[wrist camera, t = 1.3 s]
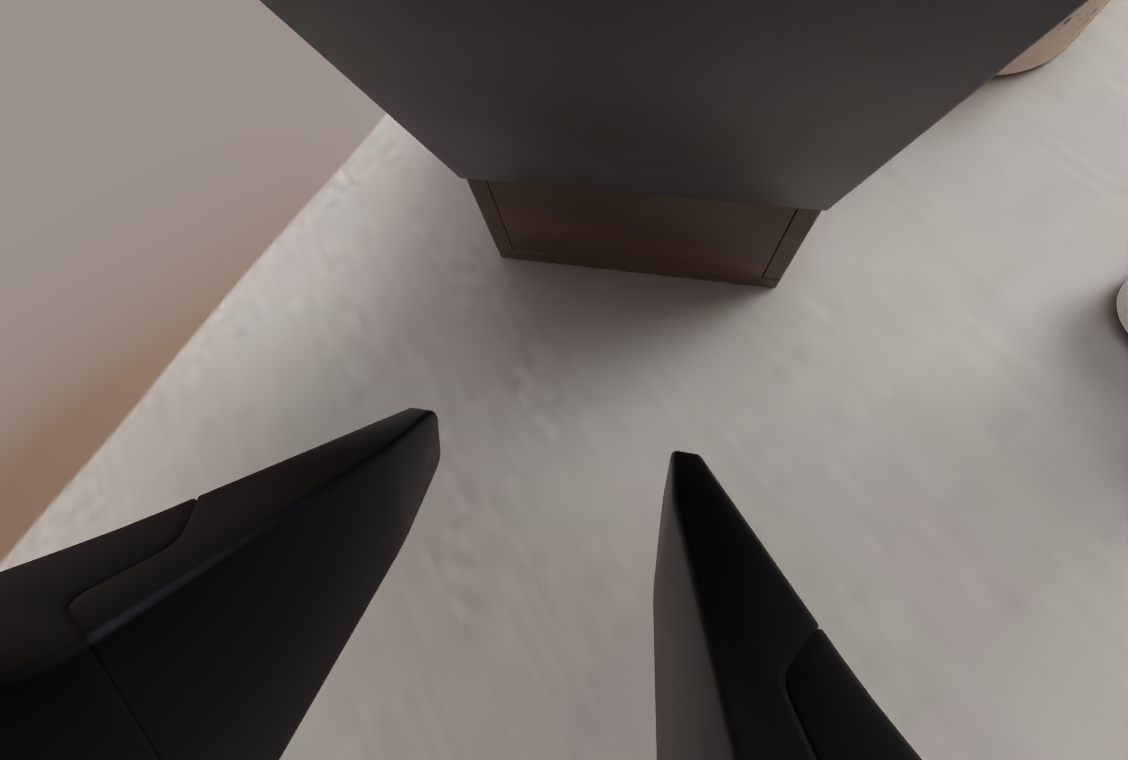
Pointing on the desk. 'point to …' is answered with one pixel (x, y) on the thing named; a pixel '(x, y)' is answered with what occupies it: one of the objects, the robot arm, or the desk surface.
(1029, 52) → the teacup with lid
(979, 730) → the desk surface
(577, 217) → the wooden box
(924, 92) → the dark grey flat tile
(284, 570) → the robot arm
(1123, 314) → the joystick
